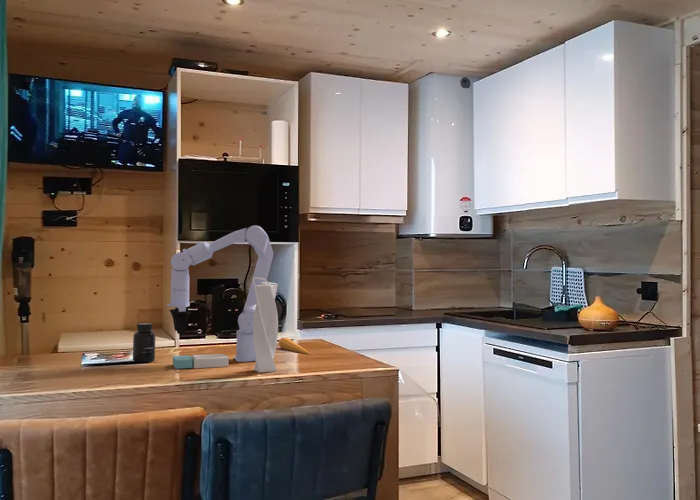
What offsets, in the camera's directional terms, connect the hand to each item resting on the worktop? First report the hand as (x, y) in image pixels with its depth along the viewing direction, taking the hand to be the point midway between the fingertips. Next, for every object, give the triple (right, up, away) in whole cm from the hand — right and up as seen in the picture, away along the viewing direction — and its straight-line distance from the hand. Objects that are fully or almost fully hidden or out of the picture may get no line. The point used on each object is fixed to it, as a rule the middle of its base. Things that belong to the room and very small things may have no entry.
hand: (179, 332), depth 200 cm
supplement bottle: (-12, -10, 0) cm, 15 cm away
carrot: (+35, -10, +23) cm, 44 cm away
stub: (+3, -9, -9) cm, 13 cm away
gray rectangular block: (+11, -10, -6) cm, 16 cm away
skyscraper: (+29, -10, -14) cm, 34 cm away
